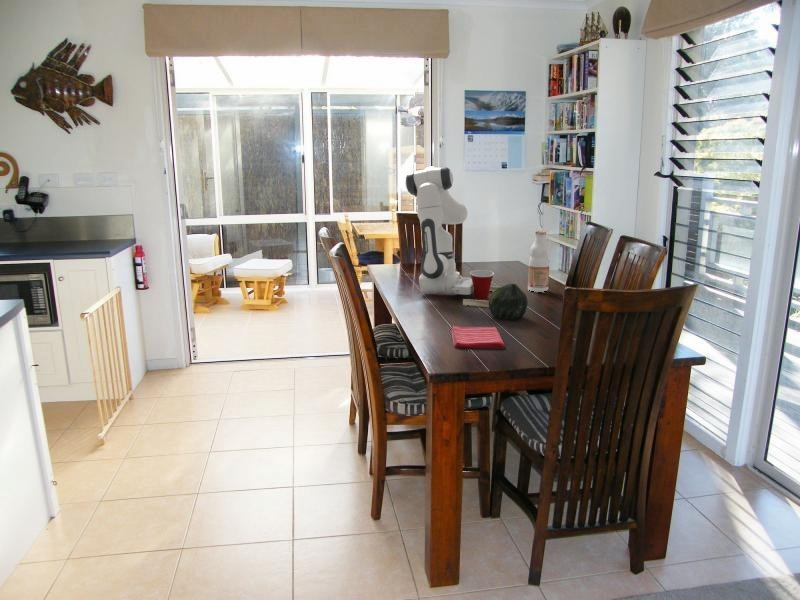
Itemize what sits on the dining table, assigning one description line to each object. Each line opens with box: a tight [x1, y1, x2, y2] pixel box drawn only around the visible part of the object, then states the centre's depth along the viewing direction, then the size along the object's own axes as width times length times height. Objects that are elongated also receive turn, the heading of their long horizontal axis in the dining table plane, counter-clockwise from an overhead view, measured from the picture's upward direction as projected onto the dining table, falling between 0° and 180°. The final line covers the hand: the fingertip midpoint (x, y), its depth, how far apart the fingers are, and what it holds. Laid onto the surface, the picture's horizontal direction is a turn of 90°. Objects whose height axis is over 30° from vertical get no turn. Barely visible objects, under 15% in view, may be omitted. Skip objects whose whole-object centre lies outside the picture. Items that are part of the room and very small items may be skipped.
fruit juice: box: [527, 230, 551, 293], centre depth 299 cm, size 9×9×28 cm
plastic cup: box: [469, 269, 495, 301], centre depth 285 cm, size 11×11×12 cm
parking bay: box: [462, 285, 501, 308], centre depth 285 cm, size 31×18×2 cm, turn 162°
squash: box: [488, 283, 529, 321], centre depth 251 cm, size 14×15×15 cm
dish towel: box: [451, 325, 506, 350], centre depth 225 cm, size 17×24×3 cm
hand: (484, 287), depth 285 cm, fingers closed, pressing on plastic cup
